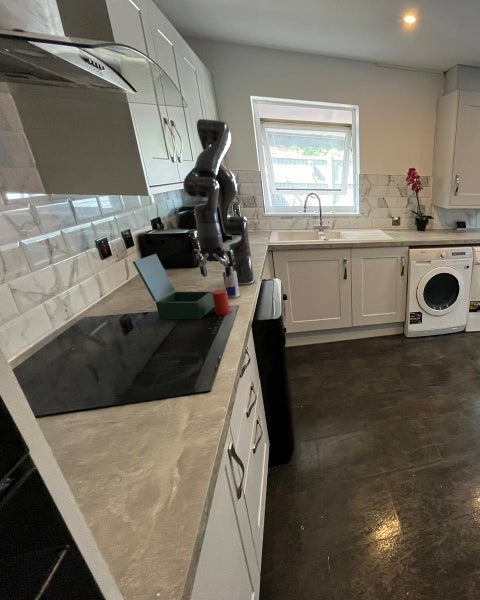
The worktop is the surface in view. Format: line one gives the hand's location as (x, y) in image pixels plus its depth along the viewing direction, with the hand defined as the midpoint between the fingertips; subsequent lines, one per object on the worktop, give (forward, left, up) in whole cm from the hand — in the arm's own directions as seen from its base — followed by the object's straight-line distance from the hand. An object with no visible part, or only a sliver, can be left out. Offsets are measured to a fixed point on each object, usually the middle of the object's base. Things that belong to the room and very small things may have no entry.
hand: (216, 276), depth 124 cm
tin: (0, 0, -15) cm, 15 cm away
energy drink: (-19, -3, -15) cm, 25 cm away
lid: (0, -22, 0) cm, 22 cm away
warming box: (0, -13, -15) cm, 20 cm away
